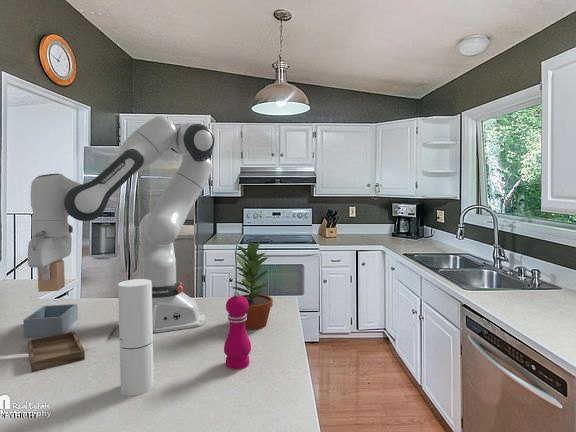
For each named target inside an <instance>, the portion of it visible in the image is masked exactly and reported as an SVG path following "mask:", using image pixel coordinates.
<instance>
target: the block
mask: <svg viewBox="0 0 576 432" xmlns="http://www.w3.org/2000/svg"><path fill="white" fill-rule="evenodd" d="M36 268H37V288H38V289H37V291H38V292H41V293H43V292H59V291H60V290H62V289H63V288H65V283H66V282H65V280H66V279H65V260H63V259H62V260H58V261H56V262H53V263H51V264H50V268H49V271H50V273H51V279H49V280H43V279H42V273H41V271H40V269H39V267H36Z"/></svg>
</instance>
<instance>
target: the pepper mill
mask: <svg viewBox="0 0 576 432" xmlns="http://www.w3.org/2000/svg"><path fill="white" fill-rule="evenodd" d="M240 295H242V294H241V291H239V290H235V291H234V292H233V296H231V297H230V298H228V299H227V301H226V304H225V310H226V312H227V313H228V315H227V320H228V322H229V330H228V332H227V333H228V334H227V336H226V339H225V341H224V343H223V344H224V345H223V353H224V354H225V356H226V357H225V367H227V368H228V369H231V370H243V369H245V368H247V367H248V366H249V365H250V356H249V354H250V353H251V351H252V344H251V339H250V338H249V335H248V334H247V333H248V332H247V330H246V329H245V321H246V320H247V317H246V316H247V314H246V312H247V311H248V308H249V304H248V301H247V299H246V298H244V297H242V296H240Z"/></svg>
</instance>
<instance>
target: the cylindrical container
mask: <svg viewBox="0 0 576 432" xmlns="http://www.w3.org/2000/svg"><path fill="white" fill-rule="evenodd" d="M117 287H118V288H117V289H118V295H117V296H118V325H119V327H118V329H119V330H118V331H119V332H118V333H119V364H120V366H119V368H120V393H121V394H122V395H124V396H130V397H133V396H140V395H143V394H146V393H148V392H150V391H151V390H152V389H153V388H154V385H155V382H154V378H155V377H154V341H153V339H154V336H153V333H154V332H153V326H152V281H151V280H147V279H143V278H134V279H128V280H124V281H121V282H118V283H117Z"/></svg>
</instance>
